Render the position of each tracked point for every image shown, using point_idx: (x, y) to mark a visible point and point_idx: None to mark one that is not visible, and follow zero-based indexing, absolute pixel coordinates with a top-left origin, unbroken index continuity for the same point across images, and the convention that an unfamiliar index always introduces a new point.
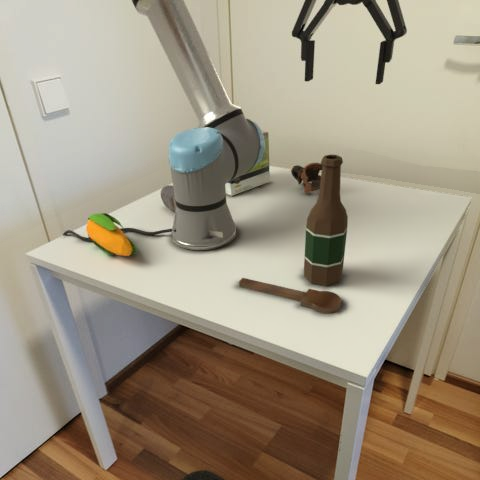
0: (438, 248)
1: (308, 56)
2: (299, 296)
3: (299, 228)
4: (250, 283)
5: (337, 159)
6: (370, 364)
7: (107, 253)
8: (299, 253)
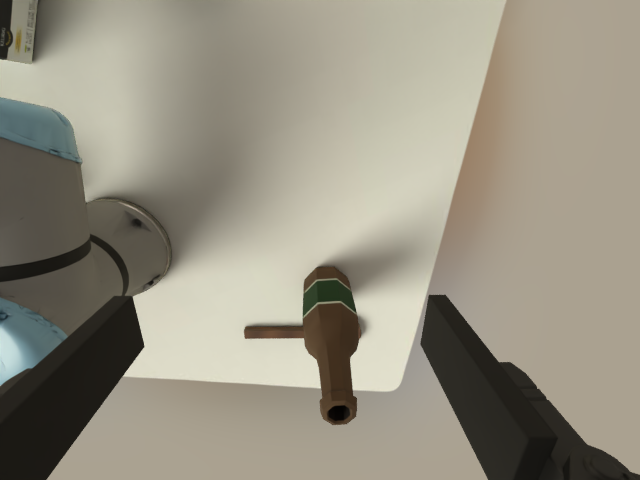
0: (463, 156)
1: (75, 434)
2: None
3: (242, 166)
4: (258, 337)
5: (351, 419)
6: (400, 383)
7: None
8: (277, 243)
